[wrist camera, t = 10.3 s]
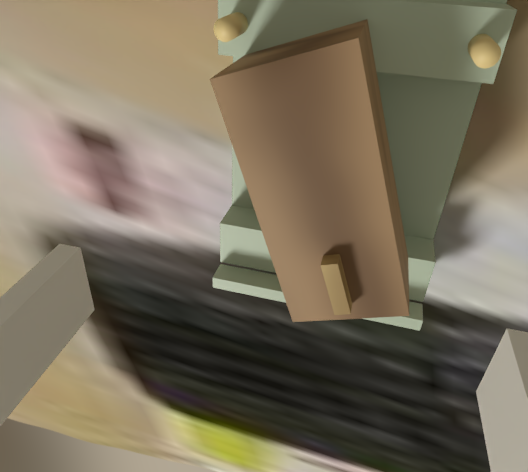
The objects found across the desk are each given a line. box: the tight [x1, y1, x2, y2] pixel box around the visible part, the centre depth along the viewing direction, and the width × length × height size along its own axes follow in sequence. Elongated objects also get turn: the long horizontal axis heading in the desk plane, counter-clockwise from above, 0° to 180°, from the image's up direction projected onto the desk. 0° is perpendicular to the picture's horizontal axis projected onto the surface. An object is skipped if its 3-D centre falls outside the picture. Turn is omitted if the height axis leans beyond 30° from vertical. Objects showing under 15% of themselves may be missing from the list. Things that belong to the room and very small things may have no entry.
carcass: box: [213, 0, 517, 331], centre depth 24 cm, size 13×19×5 cm
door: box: [210, 19, 409, 322], centre depth 22 cm, size 6×13×6 cm, turn 18°
